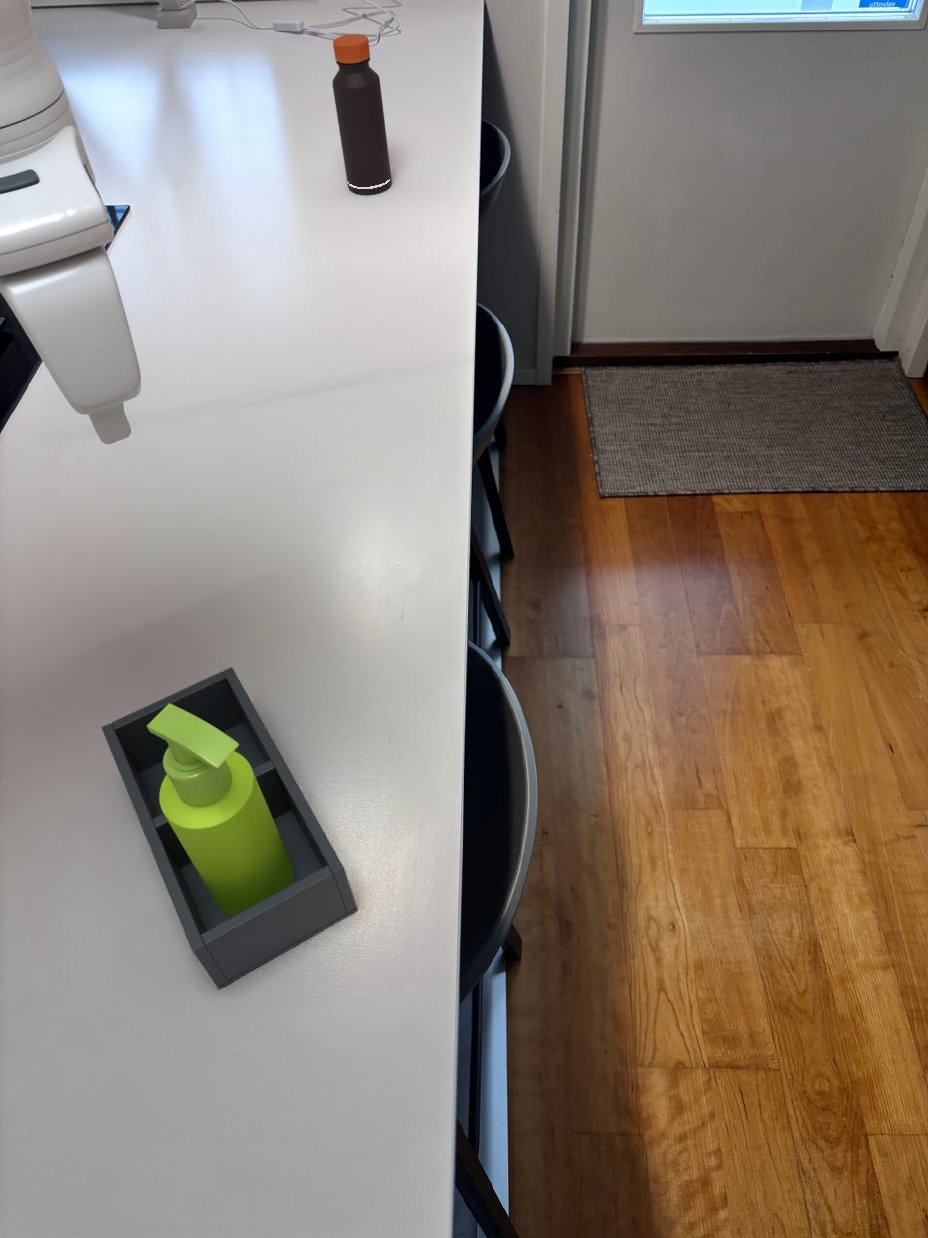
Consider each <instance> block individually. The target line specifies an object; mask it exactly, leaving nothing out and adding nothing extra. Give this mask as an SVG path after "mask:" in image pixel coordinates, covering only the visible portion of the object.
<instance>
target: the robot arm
mask: <svg viewBox="0 0 928 1238" xmlns="http://www.w3.org/2000/svg"><path fill="white" fill-rule="evenodd" d="M42 44H43V43H41V39H40V38H39V35H38V32H37V29H36V26H35V21H34V18H33V13H32V5H31V0H0V294H1V296H2V297H3V299H4V300H5V301H6V303H7V305H8V306H9V308H10V309H11V311H12V312H13V314H14V316H15V318H16V320H17V321H18V322H19V324H20V325H21V328H22V329H23V331H24V333H25V334H26V335H27V338H28V339H29V341H30V342H31V344H32V346H33V347H34V349H35V351H36V352H37V354H38V356H39V357H40V359H41V361H42V363H43V364H44V366H45V368H46V369H47V371H48V373H49V374H50V376H51V377H52V379H53V381H54V383H55V384H56V386H57V388H58V389H59V391H60V392H61V394H62V395H63V397H64V398H65V400H66V401H67V402H68V404H69V405H70V406H71V408H72V409H73V410H74V411H75V412H76V413H77V414H79V415H83V416H85V415H88V417H89V419H90V422H91V424H92V426H93V428H94V431H95V433H96V434H97V436H98V438H99V440H100V442H102V443H103V444H104V445H111V444H114V443H117V442H120V441H122V440H125V439H127V438H129V437H130V436H131V434H132V428H131V425H130V423H129V420H128V418H127V416H126V412H125V407H124V403H125V402H127V401H130V400H132V399H135V398H137V397H138V396H139V395H140V393H141V390H142V374H141V368H140V363H139V360H138V355H137V351H136V348H135V344H134V339H133V336H132V332H131V329H130V325H129V321H128V317H127V314H126V310H125V306H124V303H123V299H122V296H121V292H120V289H119V285H118V282H117V278H116V276H115V271H114V270H113V267H112V263H111V261H110V257H109V255H108V252H107V249H106V248H105V245H107V244H109V243H112V242H113V241H114V240H115V233H114V229H113V225H112V223H111V219H110V217H109V214H108V210H107V209H106V206H105V204H104V202H103V198H102V196H101V194H100V192H99V190H98V188H97V187H96V176H95V173H94V170H93V167H92V165H91V161H90V158H89V156H88V153H87V150H86V147H85V143H84V142H83V138H82V134H81V131H80V129H79V125H78V123H77V121H76V120H77V119H76V117H75V114H74V112H73V108H72V105H71V102H70V99H69V98H68V94H67V92H66V88H65V85H64V82H63V80H62V77H61V74H60V73H59V71H58V68H56V66H55V63H54V62H53V61H52V60H51V58H50V57H49V55H48V53H47V51H46V50H45V48H44V47H43V45H42Z"/></svg>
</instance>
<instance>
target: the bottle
mask: <svg viewBox="0 0 928 1238" xmlns="http://www.w3.org/2000/svg"><path fill="white" fill-rule="evenodd" d="M332 47H333V54H334V60H335V63H336V65H337V66H338V71H337V72H336V73H335V75H334V77H333V78H332V91H333V97H334V104H335V111H336V117H337V124H338V130H339V138H340V144H341V150H342V156H343V163H344V169H345V177H346V182H347V181H348V182H349V184H352V185H354V186H357V187H370V186H375V185H379V184H382V183H385V182H386V181H387V180H389V179H390V177H391V178H392V173H391V163H390V154H389V147H388V137H387V130H386V129H387V128H386V121H385V113H384V104H383V103H384V102H383V95H382V86H381V79H380V76H379V74H378V73H377V72H376V71H375V70H374V69H372V67H371V66H370V61H371V51H370V42H369V37H367V36H366V35H364V34H359V33H350V34H343V35H341V36H338V37H335V39H334V40H333V41H332ZM349 184H348V183H347V188H348V189H349V190H350V192H352V193H355V194H358V195H375V194H379V193H383V192H385V191H386V190H388V189H389V188H390V187H391V185H392V179H391V180H390V181H389V182H388V183H387V184H385V185H383V186H381V187H377V188H373V189H357V188H353V187H351V186H349Z"/></svg>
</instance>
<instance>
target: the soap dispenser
mask: <svg viewBox="0 0 928 1238" xmlns="http://www.w3.org/2000/svg"><path fill="white" fill-rule="evenodd" d="M147 728H148V730H149V731H150V732H151V733H153V734H155V735H157V736H159V737H160V738H162V739H164V740H166V741H167V743H168V745H169V747H168V748H167V750H166V752H165V754H164V758H163V766H164V769H165V771H166V773H167V775H166V777H165V778H164V780H163V783H162V785H161V789H160V795H159V800H160V806H161V809H162V811H163V813H164V815H165V816H166V818H167V820H168V822H169V823H170V825H171V827H172V828H173V830H174V832H175V834H176V835H177V837H178V839H179V840H180V842H181V844H182V846H183V847H184V849H185V851H186V852H187V854H188V856H189V857H190V859H191V861H192V863H193V864H194V866H195V868H196V869H197V871H198V873H199V875H200V876H201V878H202V880H203V881H204V883H205V885H206V887H207V888H208V890H209V892H210V893H211V895H212V897H213V899H214V900H215V902H216V904H217V905H218V907H219V908H220V910H221V911H222V912H223V913H225V914H226V915H227V916H229V917H231V918H232V917H234V916H236V915H238V914H239V913H241V912H243V911H245V910H247V909H249V908H250V907H252V906H254V905H256V904H258V903H260V902H261V901H263V900H265V899H267V898H269V897H270V896H272V895H274V894H276V893H278V892H280V891H281V890H283V889H285V888H287V887H289V886H291V885H292V884H294V869H293V866H292V863H291V861H290V859H289V856H288V854H287V851H286V849H285V847H284V844H283V842H282V839H281V837H280V835H279V832H278V830H277V828H276V825H275V823H274V820H273V818H272V816H271V813H270V811H269V808H268V806H267V804H266V801H265V799H264V797H263V794H262V792H261V789H260V787H259V785H258V782H257V780H256V777H255V775H254V773H253V770H252V768H251V766H250V764H249V763H248V761H247V760H246V759H245V758H244V757H243V756H242V755H240V754H239V753H237V752H235V751H234V750H235V749H236V748H237V747H238V746H239V744H238V743H237V742H236V741H235V740H233V739H232V738H230V737H229V736H227V735H226V734H224V733H223V732H222V731H220V730H218V729H217V728H215V727H214V726H212V725H210V724H209V723H207V722H205V721H204V720H202V719H200V718H198V717H196V716H194V715H192V714H190V713H188V712H186V711H184V710H182V709H180V708H178V707H176V706H174V705H172V704H170V703H169V704H168V705H167V706H166V707H165V708H164V709H163V710H162V711H161V712H160V713H159V714H158V715H157V716H156V717H155V718H154V719H153V720H152V721H151V722H150V723H149V724H148V725H147Z"/></svg>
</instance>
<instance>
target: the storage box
mask: <svg viewBox="0 0 928 1238" xmlns="http://www.w3.org/2000/svg"><path fill="white" fill-rule="evenodd" d="M169 703H170V704H172V705H174V706H176V707H178V708H180V709H182V710H184V711H186V712H188V713H190V714H192V715H194V716H196V717H198V718H200V719H202V720H204V721H205V722H207V723H209V724H210V725H212V726H214V727H215V728H217V729H218V730H220V731H222V732H223V733H224V734H226V735H227V736H229V737H230V738H232V739H233V740H235V741H236V742H237V743H238V744H239V746H238V747H237V748H236V749H235V750H234V751H235V752H237V753H239V754H240V755H242V756H243V757H244V758H245V759H246V760H247V761H248V763H249V764H250V766H251V768H252V770H253V773H254V775H255V777H256V780H257V782H258V785H259V787H260V789H261V792H262V794H263V797H264V799H265V801H266V804H267V806H268V808H269V811H270V813H271V816H272V818H273V820H274V823H275V825H276V828H277V830H278V832H279V835H280V837H281V839H282V842H283V844H284V847H285V849H286V851H287V854H288V856H289V859H290V861H291V863H292V866H293V869H294V884H292V885H291V886H289V887H287V888H285V889H283V890H281V891H280V892H278V893H276V894H274V895H272V896H270V897H269V898H267V899H265V900H263V901H261V902H260V903H258V904H256V905H254V906H252V907H250V908H249V909H247V910H245V911H243V912H241V913H239V914H238V915H236V916H234V917H232V918H231V917H229V916H227V915H226V914H225V913H223V912H222V911H221V910H220V908H219V907H218V905H217V904H216V902H215V900H214V899H213V897H212V895H211V893H210V892H209V890H208V888H207V887H206V885H205V883H204V881H203V880H202V878H201V876H200V875H199V873H198V871H197V869H196V868H195V866H194V864H193V863H192V861H191V859H190V857H189V856H188V854H187V852H186V851H185V849H184V847H183V846H182V844H181V842H180V840H179V839H178V837H177V835H176V834H175V832H174V830H173V828H172V827H171V825H170V823H169V822H168V820H167V818H166V816H165V815H164V813H163V811H162V809H161V806H160V800H159V795H160V789H161V785H162V783H163V780H164V778H165V777H166V775H167V773H166V771H165V769H164V766H163V758H164V754H165V752H166V750H167V748H168V747H169V745H168V743H167V741H166V740H164V739H162V738H160V737H159V736H157V735H155V734H153V733H151V732H150V731H149V730H148V728H147V725H148V724H149V723H150V722H151V721H152V720H153V719H154V718H155V717H156V716H157V715H158V714H159V713H160V712H161V711H162V710H163V709H164V708H165V707H166V706H167V705H168V704H169ZM101 731H102V733H103V735H104V737H105V740H106V743H107V745H108V747H109V750H110V752H111V755H112V757H113V760H114V763H115V765H116V767H117V770H118V772H119V774H120V777H121V779H122V782H123V784H124V787H125V790H126V792H127V795H128V797H129V800H130V802H131V804H132V807H133V809H134V812H135V814H136V817H137V819H138V822H139V824H140V826H141V828H142V831H143V833H144V836H145V838H146V841H147V843H148V846H149V849H150V851H151V853H152V856H153V858H154V860H155V863H156V865H157V868H158V870H159V872H160V875H161V878H162V880H163V882H164V885H165V887H166V890H167V893H168V895H169V897H170V900H171V902H172V904H173V907H174V910H175V912H176V915H177V916H178V919H179V922H180V925H181V926H182V927H181V928H182V929H183V932H184V934H185V937H186V939H187V942H188V944H189V946H190V949H191V951H192V953H193V954H194V956H195V957H196V959H197V960H198V962H199V963H200V964H201V966H202V968H203V969H204V971H205V972H206V973H207V975H208V976H209V978H210V980H211V981H212V982H213V983H214V985H215V987H216V988H217V989H218V990H222V988H224V987H226V986H228V985H230V984H231V983H233V982H235V981H237V980H239V979H240V978H242V977H244V976H245V975H247V974H249V973H250V972H252V971H254V970H256V969H258V968H260V967H261V966H263V965H265V964H267V963H268V962H270V961H272V960H274V959H275V958H277V957H279V956H281V955H282V954H284V953H286V952H288V951H289V950H291V949H294V948H295V947H296V946H298V945H300V944H301V943H304V942H305V941H307V940H309V939H310V938H312V937H314V936H316V935H318V934H319V933H321V932H323V931H324V930H326V929H327V928H330V927H331V926H333V925H335V924H337V923H338V922H341V921H342V920H344V919H346V918H347V917H349V916H351V915H352V914H354V913H356V912H358V911H359V909H358V906H357V903H356V900H355V897H354V894H353V891H352V888H351V885H350V882H349V879H348V876H347V873H346V870H345V867H344V866H343V863H342V862H341V860H340V858H339V857H338V855H337V853H336V851H335V849H334V848H333V845H332V844H331V842H330V840H329V839H328V837H327V835H326V833H325V831H324V830H323V827H322V826H321V824H320V821H318V818H317V817H316V815H315V814H314V811H313V810H312V808H311V806H310V804H309V802H308V801H307V799H306V796H305V795H304V793H303V792H302V790H301V788H300V787H299V784H298V783H297V781H296V778H295V777H294V775H293V774H292V772H291V770H290V769H289V766H288V765H287V763H286V761H285V759H284V758H283V756H282V754H281V752H280V750H279V749H278V747H277V745H276V743H275V741H274V740H273V738H272V736H271V735H270V733H269V730H268V729H267V727H266V725H265V724H264V722H263V720H262V718H261V716H260V714H259V712H258V711H257V709H256V707H255V705H254V703H253V702H252V700H251V698H250V696H249V695H248V692H247V691H246V689H245V688H244V685H243V683H242V682H241V680H240V679H239V677H238V675H237V673H236V672H235V669H234V668H233V667H232V666H231V667H228V668H226V669H224V670H223V671H220V672H217V673H215V674H213V675H211V676H209V677H207V678H204V679H202V680H200V681H198V682H196V683H194V684H192V685H190V686H187V687H185V688H183V689H180V690H178V691H177V692H174V693H172V694H170V695H168V696H166V697H164V698H161V699H159V700H156V701H155V702H152V703H150V704H149V705H146V706H144V707H142V708H140V709H137V710H135V711H133V712H131V713H129V714H127V715H124V716H122V717H120V718H118V719H116V720H113V721H112V722H110V723H108V724H106V725H103V726H101Z"/></svg>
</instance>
